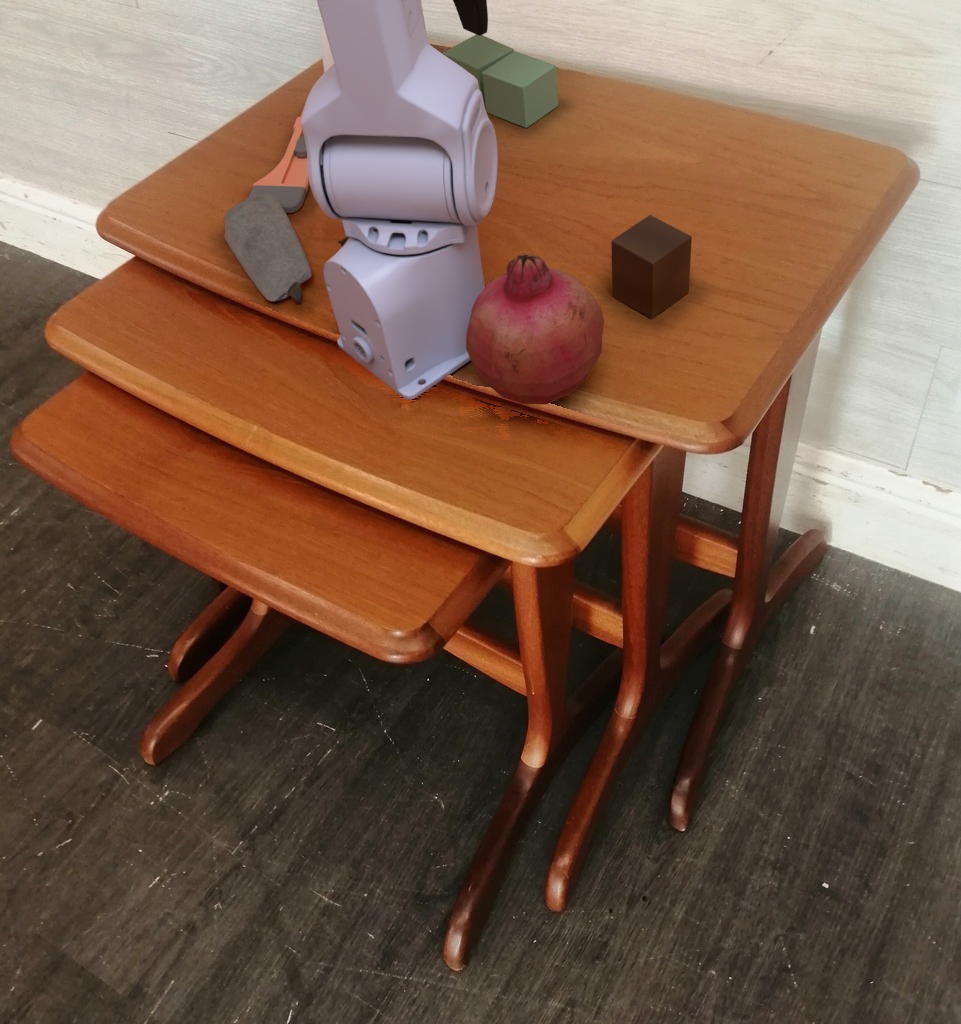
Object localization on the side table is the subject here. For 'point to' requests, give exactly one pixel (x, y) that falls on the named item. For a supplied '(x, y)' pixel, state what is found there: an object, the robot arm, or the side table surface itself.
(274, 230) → the stone
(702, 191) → the side table surface
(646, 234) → the dark brown block
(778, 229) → the side table surface
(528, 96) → the sage green cube
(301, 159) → the utility knife
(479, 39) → the green block
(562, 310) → the fruit
